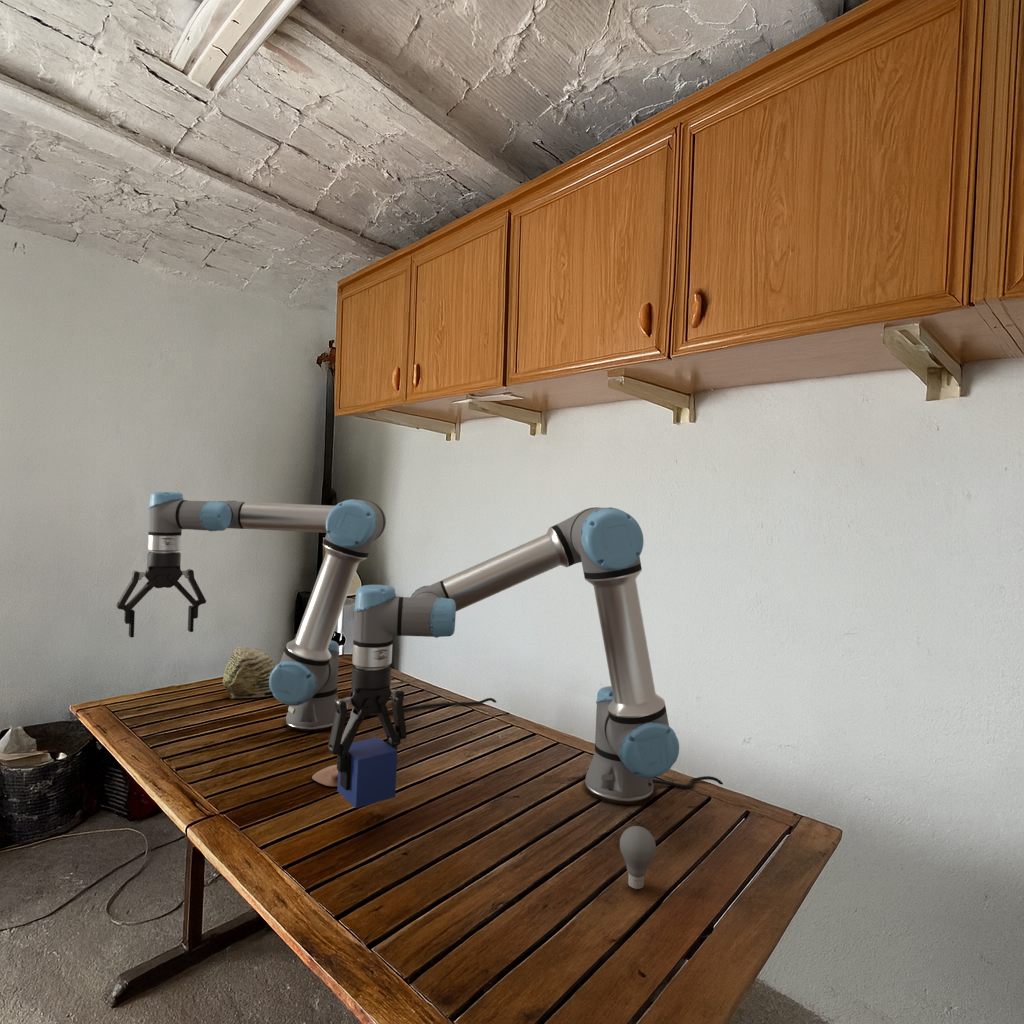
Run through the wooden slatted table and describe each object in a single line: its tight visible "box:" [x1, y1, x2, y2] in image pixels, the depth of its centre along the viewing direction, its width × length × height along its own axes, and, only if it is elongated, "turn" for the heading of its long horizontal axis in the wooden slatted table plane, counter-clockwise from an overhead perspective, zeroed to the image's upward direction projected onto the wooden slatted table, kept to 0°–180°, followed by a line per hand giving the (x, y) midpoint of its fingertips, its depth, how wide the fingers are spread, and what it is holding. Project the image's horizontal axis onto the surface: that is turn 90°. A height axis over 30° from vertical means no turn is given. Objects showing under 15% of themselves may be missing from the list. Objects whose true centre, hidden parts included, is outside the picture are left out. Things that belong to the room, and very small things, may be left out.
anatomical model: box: [311, 764, 338, 788], centre depth 144 cm, size 13×4×12 cm
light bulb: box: [619, 825, 657, 890], centre depth 107 cm, size 6×6×10 cm
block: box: [336, 736, 398, 809], centre depth 123 cm, size 8×8×9 cm
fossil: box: [222, 646, 277, 699], centre depth 198 cm, size 9×18×15 cm, turn 132°
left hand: (161, 633), depth 163 cm, fingers open, 13 cm apart
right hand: (366, 781), depth 123 cm, fingers closed on block, 8 cm apart
